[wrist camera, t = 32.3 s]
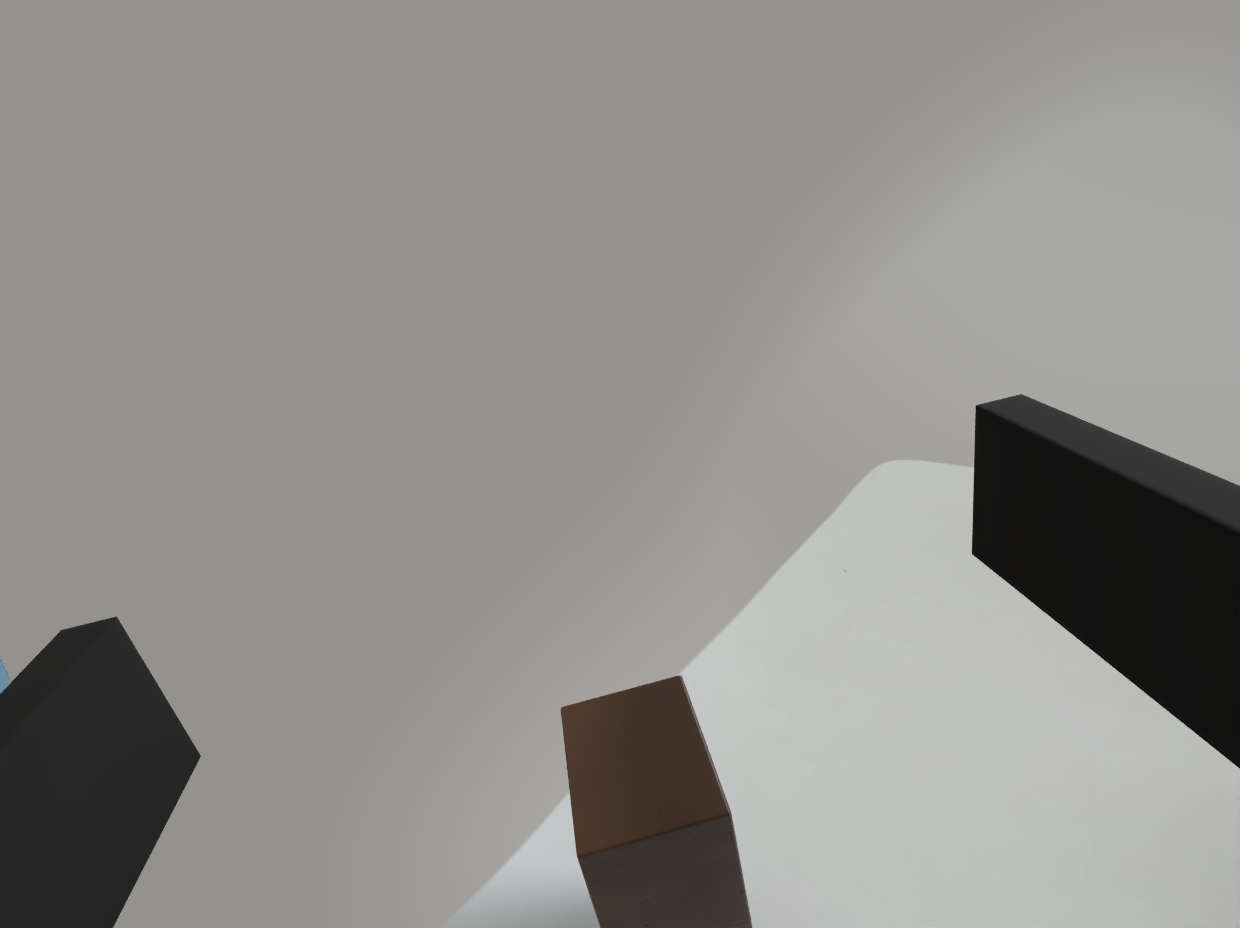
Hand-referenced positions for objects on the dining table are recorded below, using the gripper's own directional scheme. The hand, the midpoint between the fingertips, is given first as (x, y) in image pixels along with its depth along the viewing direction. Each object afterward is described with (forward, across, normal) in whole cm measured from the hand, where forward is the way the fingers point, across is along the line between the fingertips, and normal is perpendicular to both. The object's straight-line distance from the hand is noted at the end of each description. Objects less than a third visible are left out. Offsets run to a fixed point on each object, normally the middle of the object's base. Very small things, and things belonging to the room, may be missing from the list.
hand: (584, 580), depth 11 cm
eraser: (+7, 0, -24) cm, 25 cm away
